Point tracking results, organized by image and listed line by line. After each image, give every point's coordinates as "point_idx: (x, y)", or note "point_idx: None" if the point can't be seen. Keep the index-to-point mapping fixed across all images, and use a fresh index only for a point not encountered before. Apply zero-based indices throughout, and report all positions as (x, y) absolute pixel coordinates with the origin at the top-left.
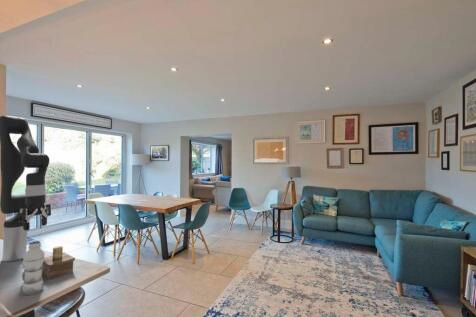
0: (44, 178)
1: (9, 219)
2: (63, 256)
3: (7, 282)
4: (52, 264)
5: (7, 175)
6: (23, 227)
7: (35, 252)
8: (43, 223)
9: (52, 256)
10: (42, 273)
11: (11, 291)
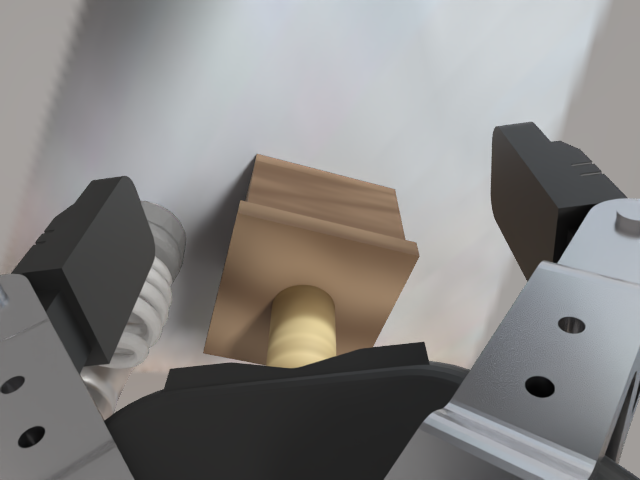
0: None
1: None
2: (347, 314)
3: (83, 60)
4: (219, 354)
5: None
6: (46, 237)
7: None
8: (505, 197)
9: (317, 252)
10: (247, 194)
11: (56, 201)
